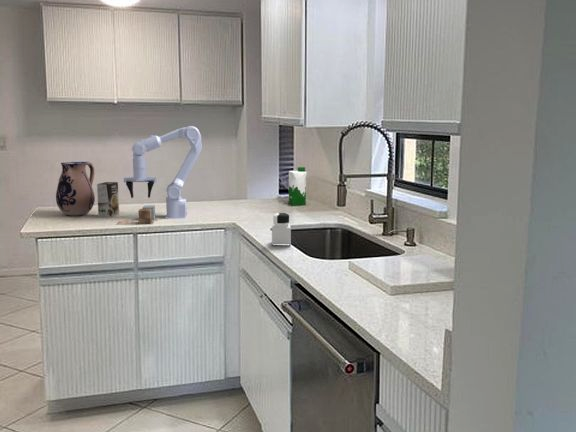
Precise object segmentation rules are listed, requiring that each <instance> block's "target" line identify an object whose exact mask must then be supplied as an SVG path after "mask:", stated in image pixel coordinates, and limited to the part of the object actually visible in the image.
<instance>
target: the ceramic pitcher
mask: <svg viewBox="0 0 576 432" xmlns="http://www.w3.org/2000/svg"><path fill="white" fill-rule="evenodd" d="M60 165H61V168H62V169H61V174H60V176H59V179H58V183H57V188H56V192H55V201H56V205H57V208H58V209H59V210H60V211H61V213H63V214H65V215H66V216H74V217H76V216H79V217H80V216H85V215H86V214H87V213H89V212H90V211H91V210H92V208H94V205H95V201H96V198H95V197H96V196H95V192H94V189H93V183H94V179H95V167H94V165H93V163H92V162H90V161H69V162H64V161H63V162H61V163H60ZM86 166H88V168H89V172H90V173H89V176H88V173H87V169H86Z"/></svg>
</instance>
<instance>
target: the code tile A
mask: <svg viewBox="0 0 576 432" xmlns="http://www.w3.org/2000/svg"><path fill="white" fill-rule="evenodd" d="M137 221H138V220H118V222H116V224H115V225H117V226H118V225H119V226H120V225H135V224H137V223H138V222H137Z"/></svg>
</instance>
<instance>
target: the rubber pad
mask: <svg viewBox="0 0 576 432" xmlns="http://www.w3.org/2000/svg"><path fill="white" fill-rule="evenodd" d="M154 223H155V221H152V222H151V224H150V225H153V224H154ZM135 224H136V226H138V225H144V226H145V225H147V224H139V221H138V222H136V223H135Z"/></svg>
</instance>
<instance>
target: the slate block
mask: <svg viewBox="0 0 576 432" xmlns="http://www.w3.org/2000/svg"><path fill="white" fill-rule="evenodd" d="M141 209H151V211H152V220H154V219H155V218H156V205H152V204H151V205H150V204H149V205H143V206H142V208H141Z"/></svg>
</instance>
